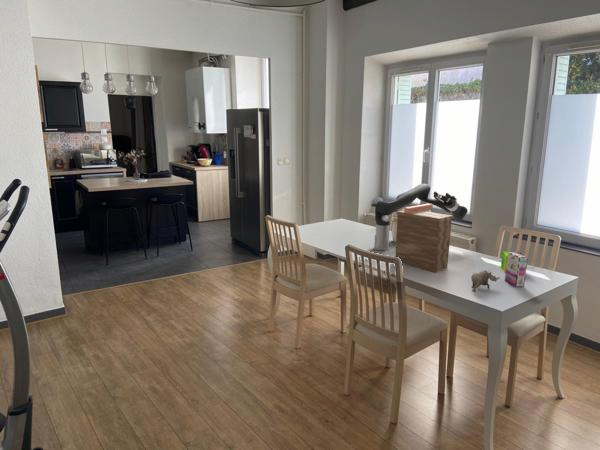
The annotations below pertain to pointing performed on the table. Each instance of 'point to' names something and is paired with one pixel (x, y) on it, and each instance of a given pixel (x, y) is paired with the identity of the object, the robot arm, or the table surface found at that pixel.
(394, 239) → the jug
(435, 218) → the cabinet
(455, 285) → the table surface
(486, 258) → the table surface
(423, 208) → the baton
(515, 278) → the candy bar box
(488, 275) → the rhino figurine
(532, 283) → the table surface
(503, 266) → the puzzle toy
